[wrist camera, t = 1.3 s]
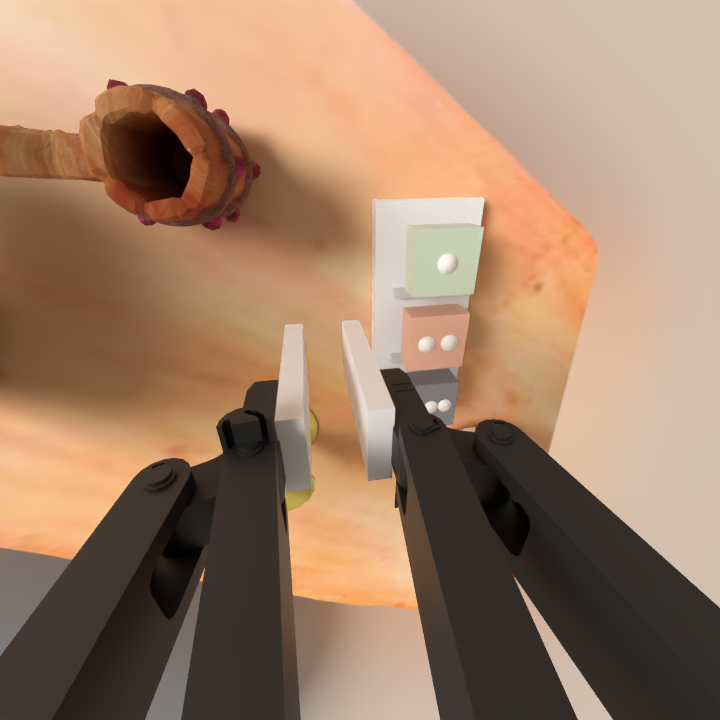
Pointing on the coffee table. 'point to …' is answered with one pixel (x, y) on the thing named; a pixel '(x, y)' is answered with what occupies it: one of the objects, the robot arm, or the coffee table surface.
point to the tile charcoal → (437, 392)
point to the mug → (144, 155)
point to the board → (391, 262)
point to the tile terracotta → (433, 336)
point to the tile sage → (442, 259)
